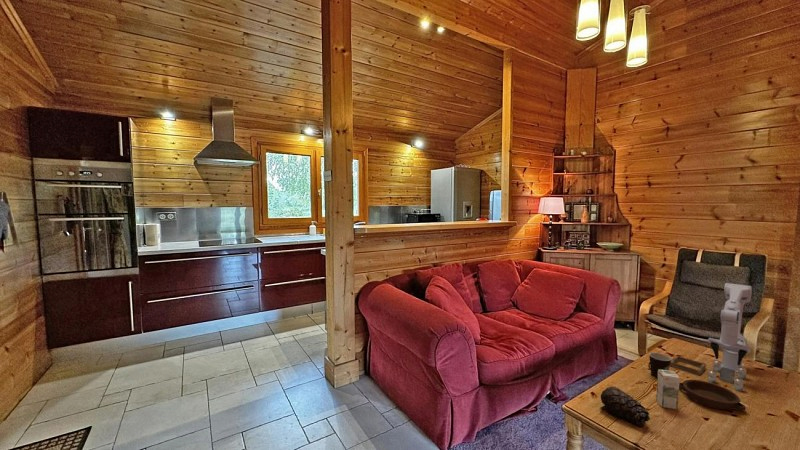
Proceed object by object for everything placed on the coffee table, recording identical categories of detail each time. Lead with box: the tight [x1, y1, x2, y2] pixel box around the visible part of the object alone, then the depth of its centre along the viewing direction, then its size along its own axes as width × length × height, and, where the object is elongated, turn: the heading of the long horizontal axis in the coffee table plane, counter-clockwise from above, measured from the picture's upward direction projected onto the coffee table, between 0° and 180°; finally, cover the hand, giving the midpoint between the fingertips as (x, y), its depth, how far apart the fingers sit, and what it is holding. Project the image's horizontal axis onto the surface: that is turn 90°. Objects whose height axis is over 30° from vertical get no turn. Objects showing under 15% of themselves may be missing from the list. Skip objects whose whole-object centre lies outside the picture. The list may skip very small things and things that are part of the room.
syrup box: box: [655, 369, 681, 411], centre depth 141 cm, size 6×6×14 cm
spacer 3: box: [736, 366, 748, 381], centre depth 162 cm, size 3×3×5 cm
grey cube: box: [719, 367, 736, 384], centre depth 160 cm, size 4×4×5 cm
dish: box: [679, 379, 747, 412], centre depth 144 cm, size 17×22×5 cm
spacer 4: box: [733, 377, 745, 393], centre depth 152 cm, size 3×3×5 cm
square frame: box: [669, 355, 707, 376], centre depth 172 cm, size 12×12×2 cm
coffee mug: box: [648, 352, 672, 379], centre depth 164 cm, size 12×9×10 cm
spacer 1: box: [707, 369, 718, 384], centre depth 159 cm, size 3×3×5 cm
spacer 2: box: [712, 359, 722, 373], centre depth 169 cm, size 3×3×5 cm
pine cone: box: [600, 386, 651, 430], centre depth 134 cm, size 10×18×10 cm, turn 35°
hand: (727, 361), depth 160 cm, fingers open, 7 cm apart
